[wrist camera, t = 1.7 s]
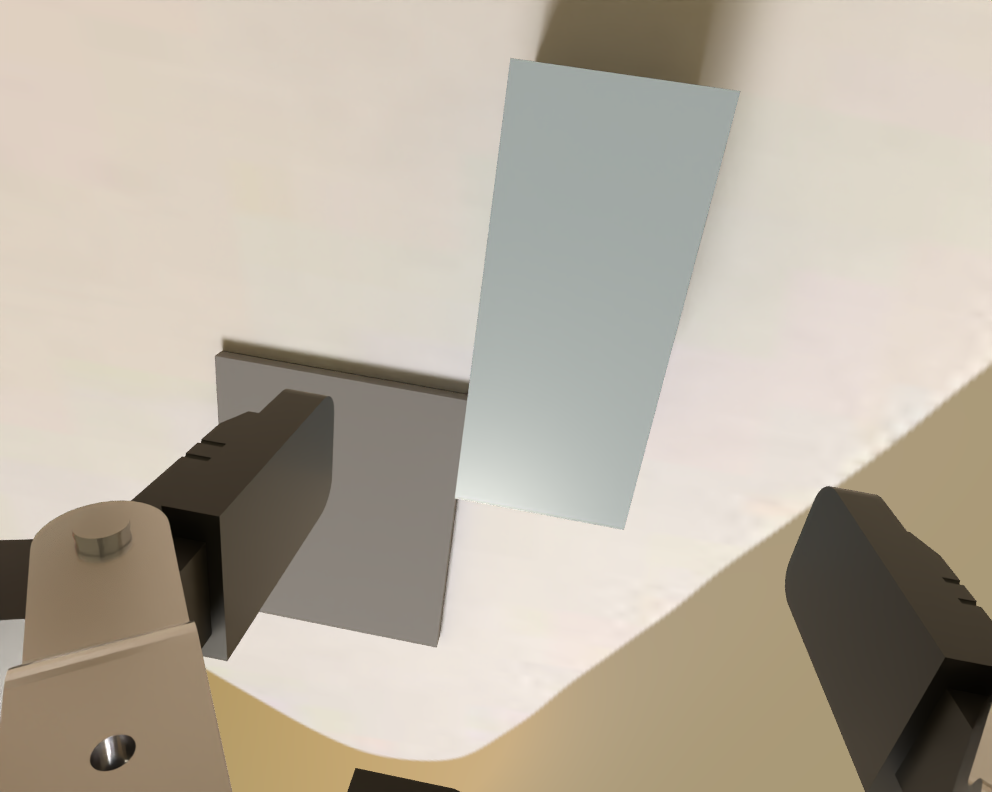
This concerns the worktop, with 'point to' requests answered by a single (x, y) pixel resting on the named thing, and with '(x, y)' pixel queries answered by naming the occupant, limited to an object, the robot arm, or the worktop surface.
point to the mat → (367, 498)
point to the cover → (584, 283)
